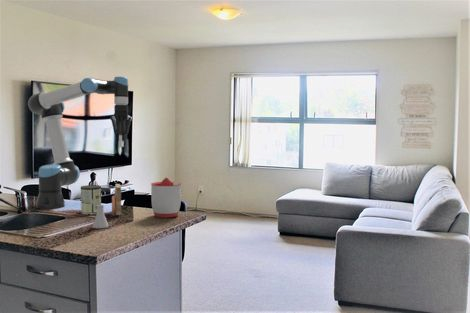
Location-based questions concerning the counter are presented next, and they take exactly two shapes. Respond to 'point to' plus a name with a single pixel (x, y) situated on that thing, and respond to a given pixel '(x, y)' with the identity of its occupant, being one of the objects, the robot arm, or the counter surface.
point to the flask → (100, 218)
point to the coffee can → (90, 199)
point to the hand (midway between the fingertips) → (121, 146)
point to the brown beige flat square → (118, 198)
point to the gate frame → (113, 205)
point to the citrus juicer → (165, 198)
